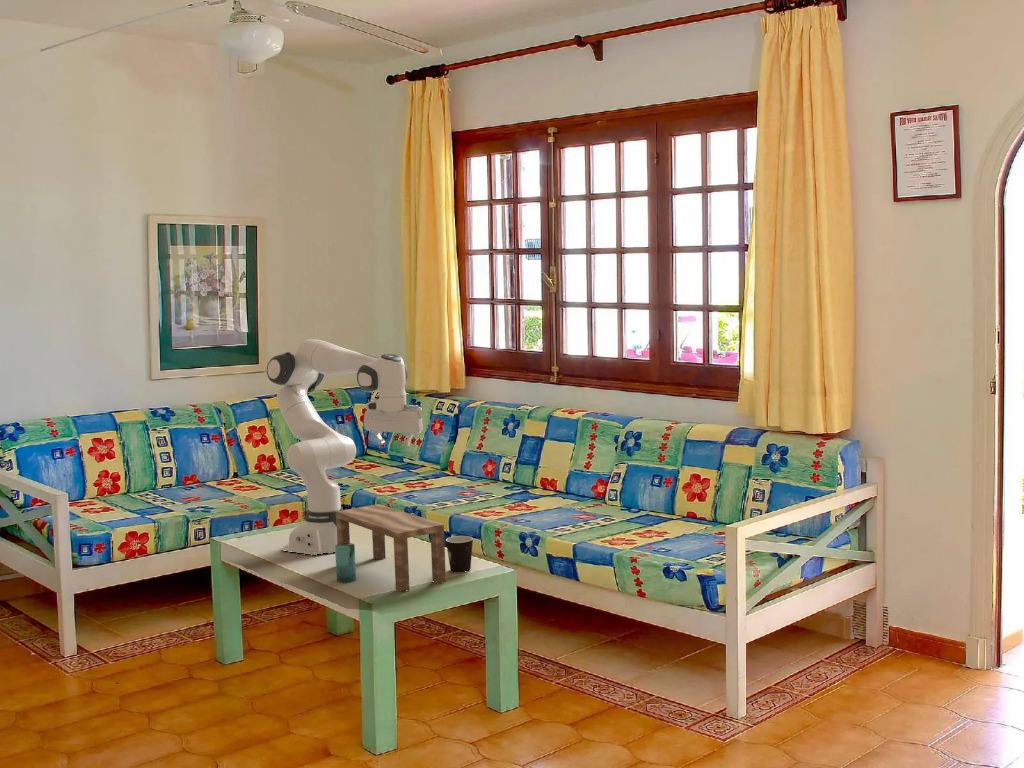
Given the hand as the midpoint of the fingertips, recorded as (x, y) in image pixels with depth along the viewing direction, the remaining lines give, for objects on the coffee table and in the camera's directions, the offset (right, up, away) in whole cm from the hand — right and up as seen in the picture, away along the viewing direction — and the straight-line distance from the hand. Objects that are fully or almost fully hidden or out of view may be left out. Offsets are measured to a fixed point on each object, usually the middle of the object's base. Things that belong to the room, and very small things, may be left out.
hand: (394, 445), depth 354 cm
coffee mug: (+22, -40, -14) cm, 48 cm away
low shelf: (0, -40, -14) cm, 42 cm away
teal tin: (-13, -41, -20) cm, 47 cm away
